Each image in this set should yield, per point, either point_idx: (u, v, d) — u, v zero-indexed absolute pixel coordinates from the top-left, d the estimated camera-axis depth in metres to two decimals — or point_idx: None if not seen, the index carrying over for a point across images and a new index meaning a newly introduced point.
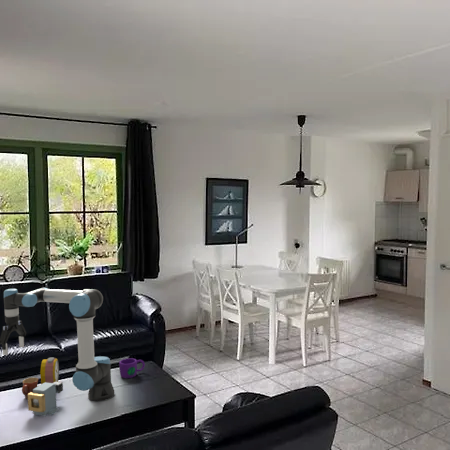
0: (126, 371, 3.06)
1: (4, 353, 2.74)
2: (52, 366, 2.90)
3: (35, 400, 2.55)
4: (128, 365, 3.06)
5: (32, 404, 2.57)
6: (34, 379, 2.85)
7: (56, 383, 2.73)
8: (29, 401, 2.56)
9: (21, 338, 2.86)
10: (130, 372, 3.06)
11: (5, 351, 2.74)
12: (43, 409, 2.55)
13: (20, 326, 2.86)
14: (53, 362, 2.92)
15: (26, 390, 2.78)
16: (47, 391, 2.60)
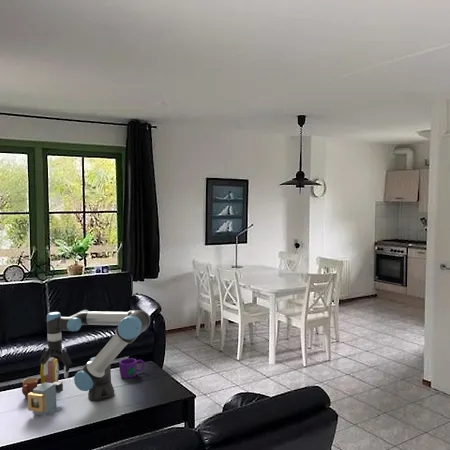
0: (126, 371, 3.06)
1: None
2: (52, 366, 2.90)
3: (35, 400, 2.55)
4: (128, 365, 3.06)
5: (32, 404, 2.57)
6: (34, 379, 2.85)
7: (56, 383, 2.73)
8: (29, 401, 2.56)
9: None
10: (130, 372, 3.06)
11: None
12: (43, 409, 2.55)
13: None
14: (53, 362, 2.92)
15: (26, 390, 2.78)
16: (47, 391, 2.60)
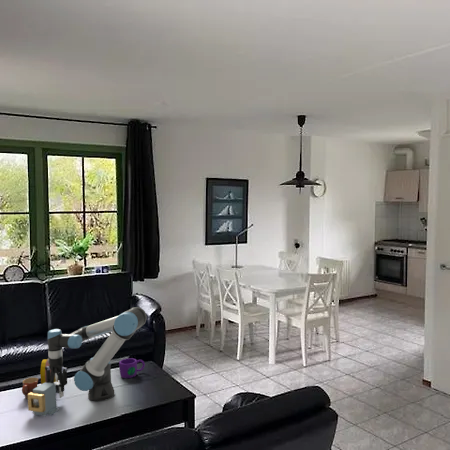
0: (126, 371, 3.06)
1: None
2: None
3: (35, 400, 2.55)
4: (128, 365, 3.06)
5: (32, 404, 2.57)
6: (34, 379, 2.85)
7: (56, 383, 2.73)
8: (29, 401, 2.56)
9: None
10: (130, 372, 3.06)
11: None
12: (43, 409, 2.55)
13: None
14: None
15: (26, 390, 2.78)
16: (47, 391, 2.60)
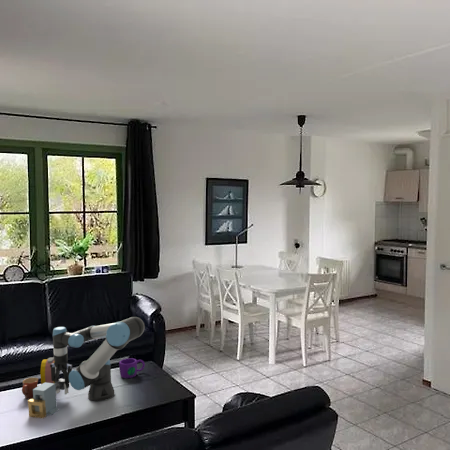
0: (126, 371, 3.06)
1: None
2: None
3: (40, 396, 2.59)
4: (128, 365, 3.06)
5: (33, 410, 2.57)
6: (34, 379, 2.85)
7: (61, 380, 2.77)
8: (29, 408, 2.56)
9: None
10: (130, 372, 3.06)
11: None
12: (44, 415, 2.55)
13: None
14: (53, 362, 2.92)
15: (26, 390, 2.78)
16: (47, 391, 2.60)
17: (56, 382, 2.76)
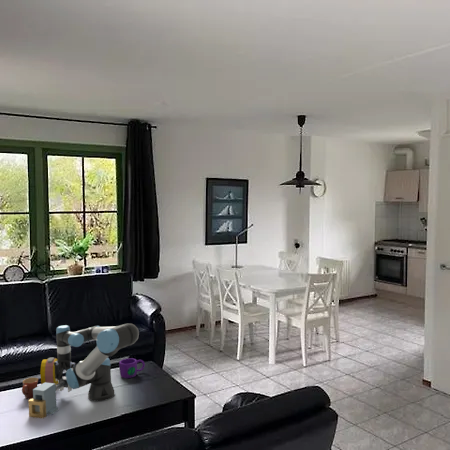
0: (126, 371, 3.06)
1: None
2: (52, 366, 2.90)
3: None
4: (128, 365, 3.06)
5: (33, 410, 2.57)
6: (34, 379, 2.85)
7: (64, 378, 2.80)
8: (30, 407, 2.57)
9: None
10: (130, 372, 3.06)
11: None
12: (44, 415, 2.55)
13: None
14: (53, 362, 2.92)
15: (26, 390, 2.78)
16: (47, 391, 2.60)
17: (60, 380, 2.79)
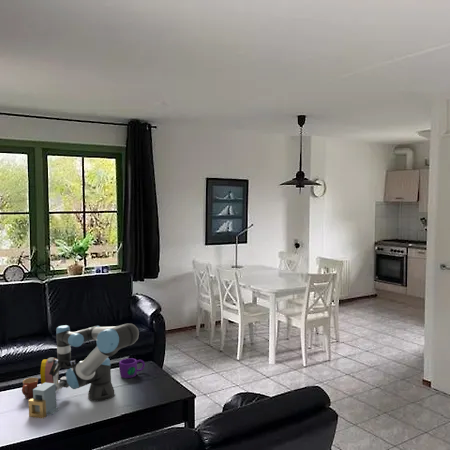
0: (126, 371, 3.06)
1: None
2: None
3: None
4: (128, 365, 3.06)
5: (33, 410, 2.57)
6: (34, 379, 2.85)
7: (64, 378, 2.80)
8: (30, 407, 2.57)
9: None
10: (130, 372, 3.06)
11: None
12: (44, 415, 2.55)
13: None
14: None
15: (26, 390, 2.78)
16: (47, 391, 2.60)
17: (60, 380, 2.79)
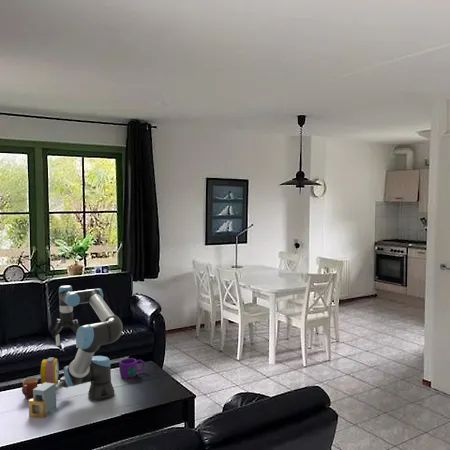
0: (126, 371, 3.06)
1: None
2: (52, 366, 2.90)
3: None
4: (128, 365, 3.06)
5: (33, 410, 2.57)
6: (34, 379, 2.85)
7: (64, 378, 2.80)
8: (30, 407, 2.57)
9: None
10: (130, 372, 3.06)
11: None
12: (44, 415, 2.55)
13: None
14: (53, 362, 2.92)
15: (26, 390, 2.78)
16: (47, 391, 2.60)
17: (60, 380, 2.79)
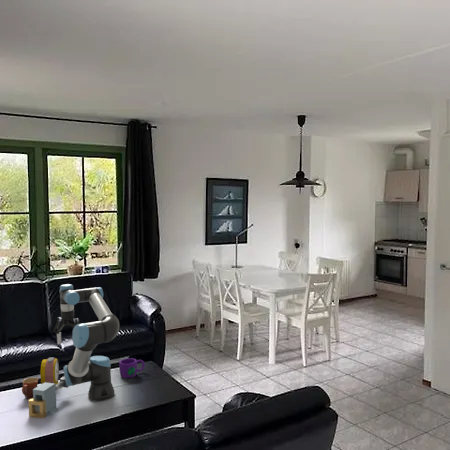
0: (126, 371, 3.06)
1: None
2: (52, 366, 2.90)
3: None
4: (128, 365, 3.06)
5: (33, 410, 2.57)
6: (34, 379, 2.85)
7: (64, 378, 2.80)
8: (30, 407, 2.57)
9: None
10: (130, 372, 3.06)
11: None
12: (44, 415, 2.55)
13: None
14: (53, 362, 2.92)
15: (26, 390, 2.78)
16: (47, 391, 2.60)
17: (60, 380, 2.79)
